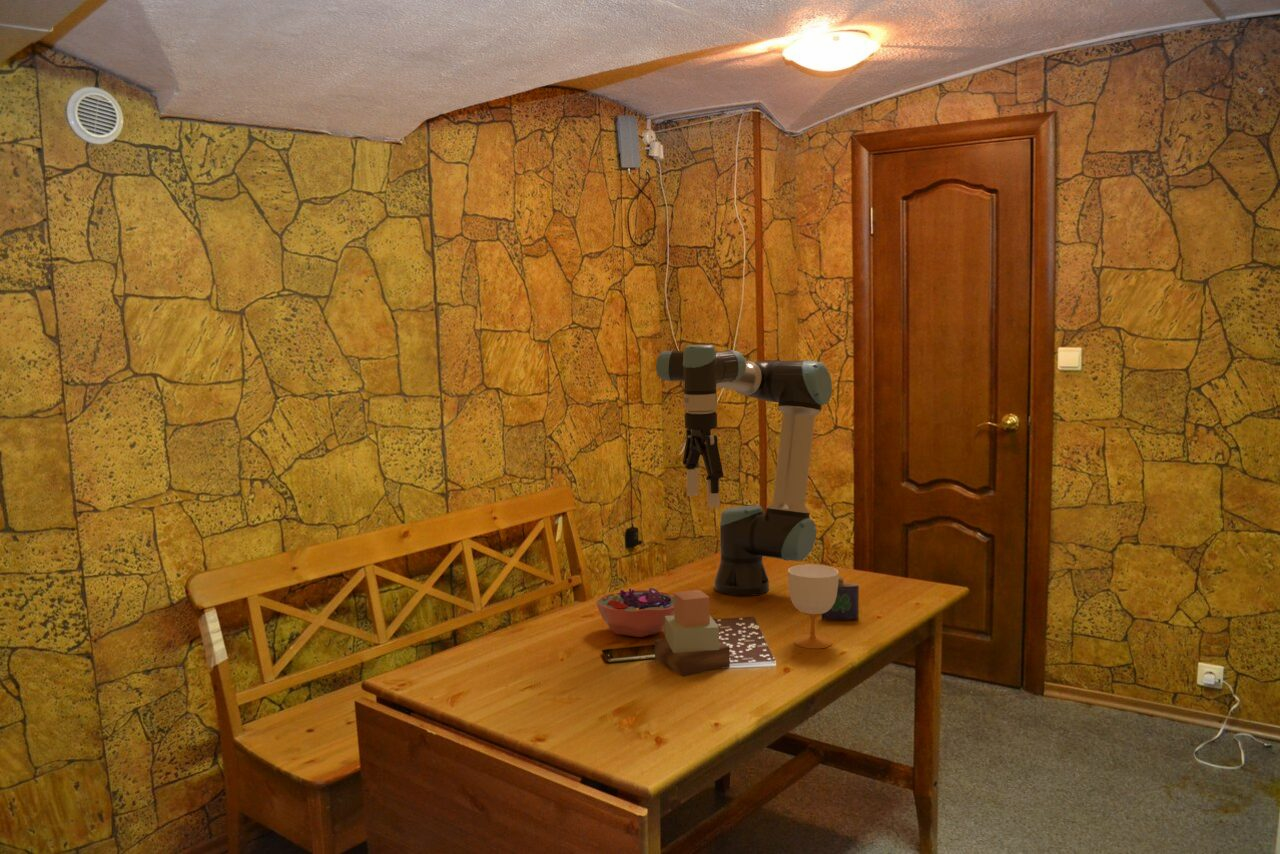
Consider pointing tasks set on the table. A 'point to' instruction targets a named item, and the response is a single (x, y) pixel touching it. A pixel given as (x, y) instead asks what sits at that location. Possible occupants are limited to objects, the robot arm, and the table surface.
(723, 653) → the tower base
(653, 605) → the cell model
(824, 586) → the cup
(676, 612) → the block
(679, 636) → the tower top
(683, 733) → the table surface
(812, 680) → the table surface
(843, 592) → the flask
